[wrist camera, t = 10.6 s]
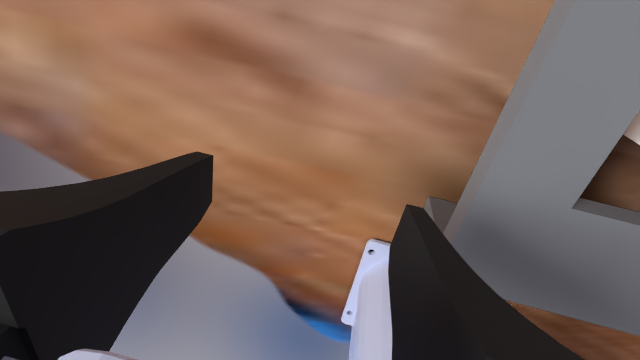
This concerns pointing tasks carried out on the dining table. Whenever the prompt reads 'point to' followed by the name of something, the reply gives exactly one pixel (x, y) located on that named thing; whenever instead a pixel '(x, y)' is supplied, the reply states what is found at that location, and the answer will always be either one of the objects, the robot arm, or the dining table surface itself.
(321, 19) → the dining table surface
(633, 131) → the white rectangular prism
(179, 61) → the dining table surface
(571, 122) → the shelf
